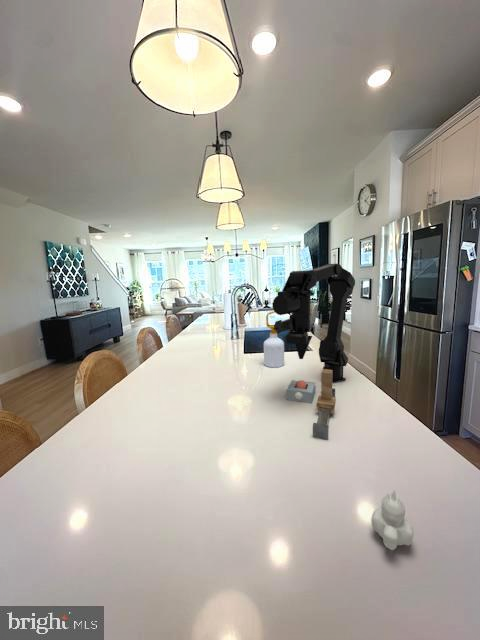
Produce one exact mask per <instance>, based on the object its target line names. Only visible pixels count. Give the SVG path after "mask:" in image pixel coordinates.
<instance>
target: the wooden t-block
mask: <svg viewBox="0 0 480 640" xmlns="http://www.w3.org/2000/svg"><path fill="white" fill-rule="evenodd" d="M332 378H333V370H327V369H323V368H322V370H321V382H320V383H321V385H320V387H321V388H320V389H321V390H320V391H321V392H320V393H321V395H318V396H317V400H316V402H315V403H316V406H315V407H316V411H317V412H320V409H321V407H323V408H329V409H331V412H330V415H331V414H333V415H334V413H335V407H336V402H337V400H336V399H337V398H336V396H335V397H332V388H333V382H332Z"/></svg>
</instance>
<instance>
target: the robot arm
mask: <svg viewBox="0 0 480 640" xmlns="http://www.w3.org/2000/svg"><path fill="white" fill-rule="evenodd" d="M323 280H325V282H326V283H327V284H328V286H329V289H328V291H329V292H330V295H331V297H332V299H331V300H332V301H331V305H330V313H329V320H328V326H327V332H326V336H325V337H324V338H323V339H320V341H319V347H318V355H319V361H320V363H323V368H322V369H327V370H333V378H332V383H336V382H337V383H338V382H343V381H346V378H345V377H344V367H347V364H348V362H349V358H348V356H347V354H346V353H345V352H344V351H345V346H344V343H343V341H342V339H341V337H342V331H343V324H344V317H345V312H346V304H347V300H348V299H349V297H350V296H351V295H352V294H353V292H354V291H353V290H354V287H355V285H356V279H355V278H354V276H353V274H352V273H351V272H350V271H348V270H347V269H345V268H343V267H342V265H341V264H340V263H327V264H324V265H322V266H319V267H315V268H313V269H308V270H292V271H291V272H290V273H289V276H288V277H287V279H286V282H285V283H284V286H283V287H282V290H280V291H277V296H275V297H274V299H273V301H272V303H271V304H272V309H273V310H272V311H275V313H274V314H276V315H279V316H283V315H288V314H290V315H289V318H287V319H284V320H282V319H279V320H275V321H274V324H273V325H274V330H275V332H277V335H278V334H281V333H283V332H286V331H289V332H288V333H287V334H286V335H285V336H284V344H294V345H295V348H296V352H297V355H298V359H299V360H303V359H304V358H305V355H306V353H307V349H309V348H308V347H309V345H310V343H311V340H312V338H313V336H312V335H309V333H310V332H311V333H312V334H315V332H316V326H315V325H314V323H311V317H312V313H311V299H312V298H311V297H312V296H315V292H313V291H312V290H311V289H312V288H314V287H315V286H317V283H318V282H320V281H321V282H322V281H323Z"/></svg>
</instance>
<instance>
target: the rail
mask: <svg viewBox="0 0 480 640" xmlns="http://www.w3.org/2000/svg"><path fill="white" fill-rule="evenodd" d="M332 397H336V388H334V387H332ZM318 412H319V411H318ZM317 417H318V418H317V420H316V422H313V423H312V437H313V438H316V439H321V440H327V441H328V440H329V431H330V430H329V428H330V427H329V422H330V417H331V409H329V408H323V407H321V409H320V412H319V413H318V416H317Z"/></svg>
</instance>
